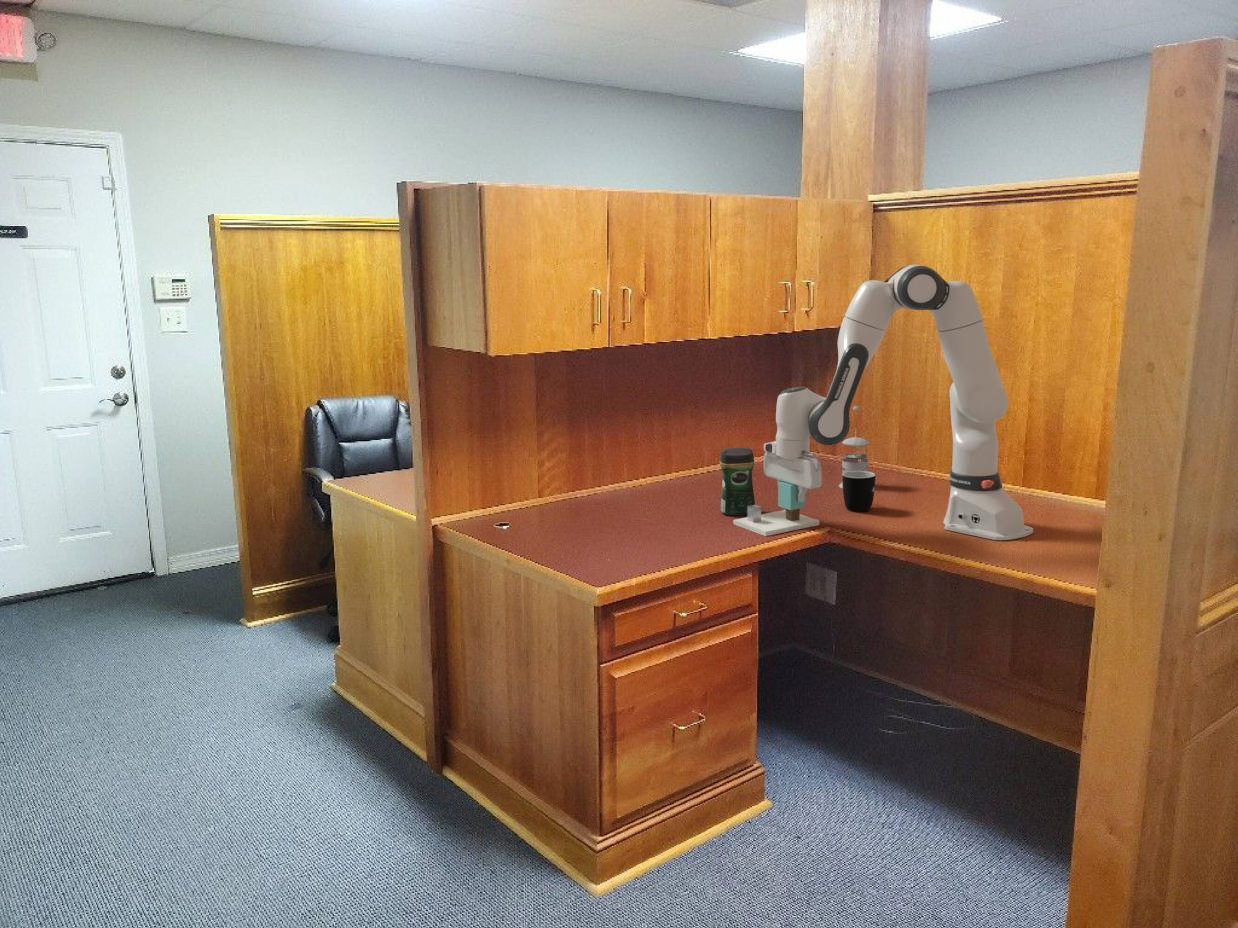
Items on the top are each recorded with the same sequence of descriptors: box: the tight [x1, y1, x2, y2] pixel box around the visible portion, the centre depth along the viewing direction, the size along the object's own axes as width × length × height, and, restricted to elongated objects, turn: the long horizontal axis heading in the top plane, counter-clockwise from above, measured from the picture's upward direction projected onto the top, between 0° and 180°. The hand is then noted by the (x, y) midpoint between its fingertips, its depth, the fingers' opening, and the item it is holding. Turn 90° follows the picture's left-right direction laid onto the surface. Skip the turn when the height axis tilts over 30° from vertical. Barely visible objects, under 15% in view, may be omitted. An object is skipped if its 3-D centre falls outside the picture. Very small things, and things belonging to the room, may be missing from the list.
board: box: [732, 509, 820, 537], centre depth 261 cm, size 14×18×1 cm
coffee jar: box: [719, 447, 756, 516], centre depth 272 cm, size 10×8×19 cm
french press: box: [838, 405, 870, 489], centre depth 298 cm, size 10×12×25 cm
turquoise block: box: [777, 481, 807, 510], centre depth 260 cm, size 5×5×7 cm
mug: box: [841, 470, 876, 513], centre depth 274 cm, size 12×9×10 cm
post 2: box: [785, 508, 801, 521], centre depth 260 cm, size 3×3×6 cm
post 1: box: [746, 504, 762, 523], centre depth 261 cm, size 3×3×4 cm
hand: (792, 498), depth 260 cm, fingers closed on turquoise block, 5 cm apart
